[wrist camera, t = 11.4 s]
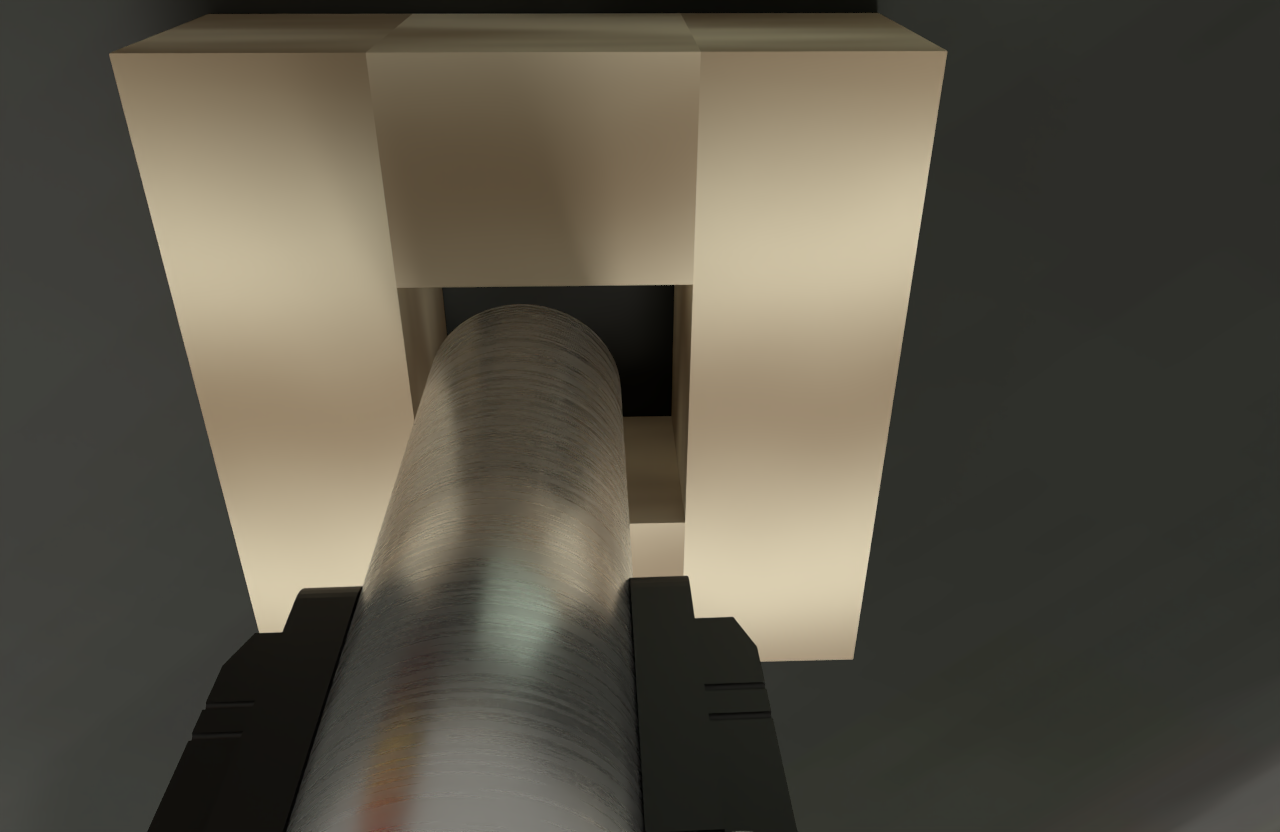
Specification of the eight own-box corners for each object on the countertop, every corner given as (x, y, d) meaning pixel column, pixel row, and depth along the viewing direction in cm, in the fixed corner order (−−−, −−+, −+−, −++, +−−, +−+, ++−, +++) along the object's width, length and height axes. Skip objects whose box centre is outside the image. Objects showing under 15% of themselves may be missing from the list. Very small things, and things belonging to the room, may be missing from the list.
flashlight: (657, 337, 16) (891, 1930, 4) (586, 499, 17) (585, 2000, 5) (455, 269, 15) (-111, 1992, 3) (400, 445, 16) (-119, 2051, 4)
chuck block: (815, 541, 23) (853, 658, 20) (319, 551, 23) (269, 673, 20) (878, 13, 17) (947, 50, 14) (208, 14, 17) (108, 53, 14)
